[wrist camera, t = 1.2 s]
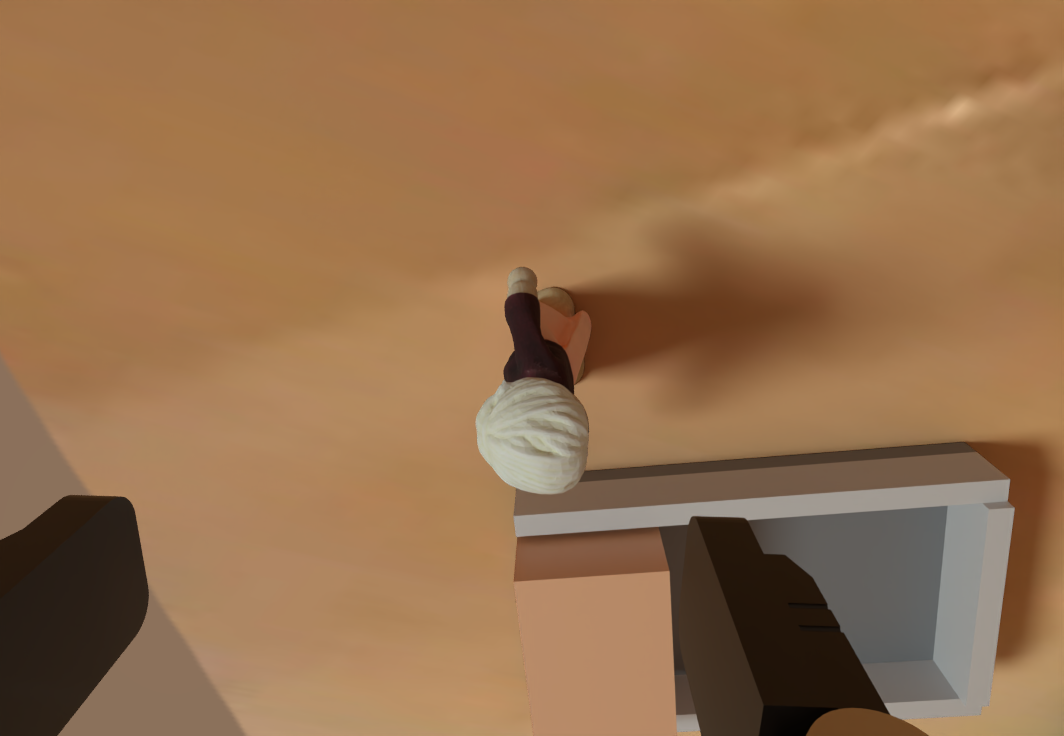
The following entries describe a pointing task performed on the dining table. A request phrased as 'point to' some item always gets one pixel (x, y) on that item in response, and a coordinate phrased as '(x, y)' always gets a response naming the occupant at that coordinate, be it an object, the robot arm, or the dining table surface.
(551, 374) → the grandmother figurine
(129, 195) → the dining table surface
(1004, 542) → the tray
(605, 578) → the block
